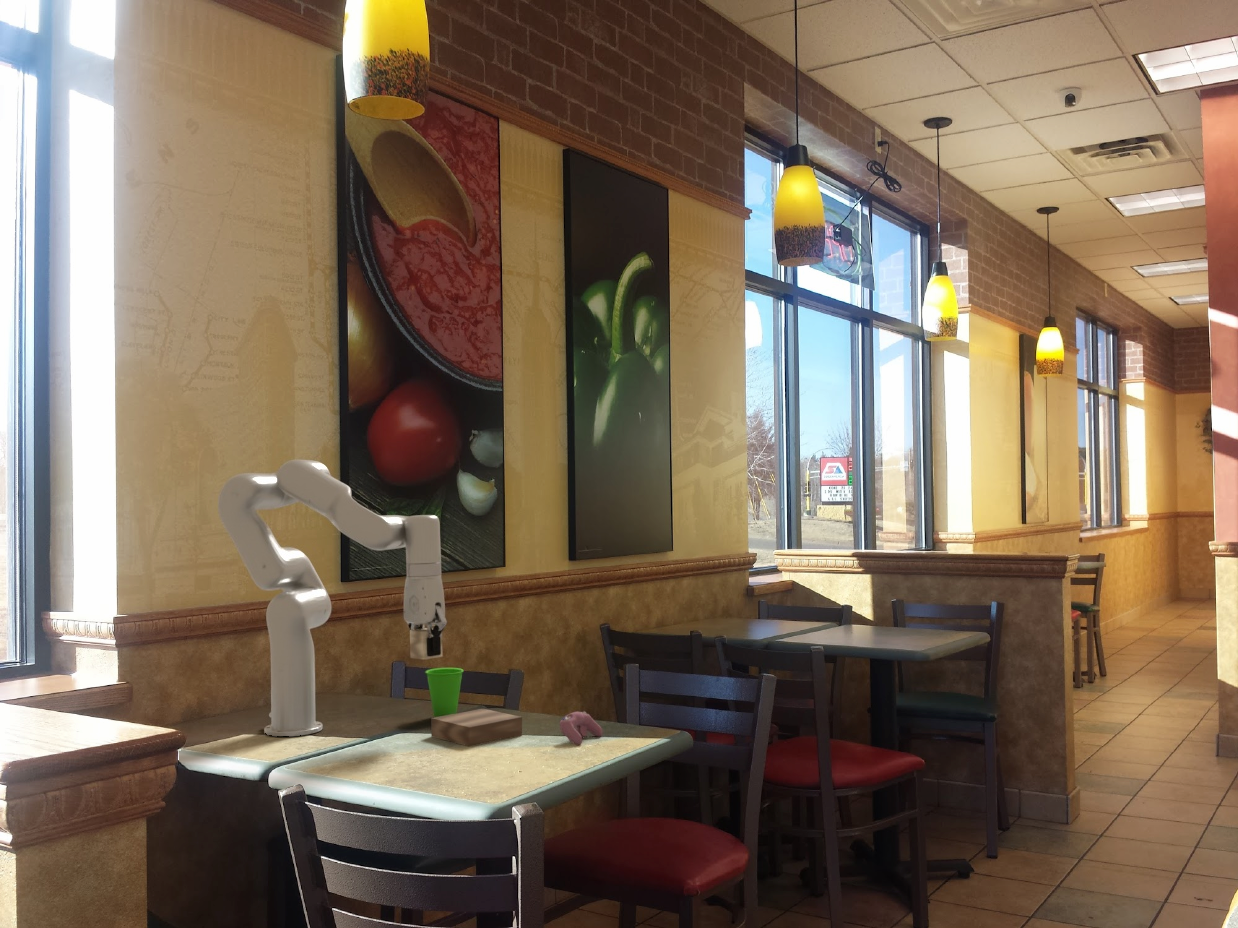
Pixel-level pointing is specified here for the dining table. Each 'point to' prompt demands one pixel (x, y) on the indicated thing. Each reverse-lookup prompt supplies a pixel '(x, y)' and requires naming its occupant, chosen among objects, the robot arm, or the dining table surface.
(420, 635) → the birch block
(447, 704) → the cup
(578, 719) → the video game controller
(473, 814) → the dining table surface
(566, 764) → the dining table surface
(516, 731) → the walnut block
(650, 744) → the dining table surface
